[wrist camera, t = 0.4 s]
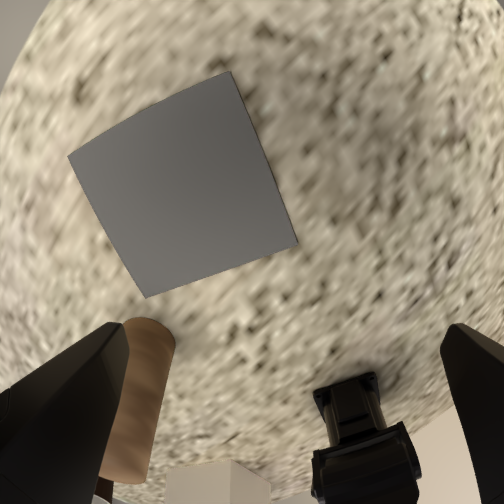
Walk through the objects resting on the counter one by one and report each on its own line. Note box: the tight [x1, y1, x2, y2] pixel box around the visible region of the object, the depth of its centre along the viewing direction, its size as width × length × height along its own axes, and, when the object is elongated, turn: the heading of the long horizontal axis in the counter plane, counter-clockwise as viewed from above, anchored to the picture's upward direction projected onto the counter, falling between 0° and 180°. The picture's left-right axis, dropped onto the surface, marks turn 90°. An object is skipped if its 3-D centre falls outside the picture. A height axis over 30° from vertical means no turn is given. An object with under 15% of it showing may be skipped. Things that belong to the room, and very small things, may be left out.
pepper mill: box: [99, 318, 175, 484], centre depth 19 cm, size 5×5×12 cm
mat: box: [67, 71, 298, 298], centre depth 19 cm, size 12×12×1 cm
